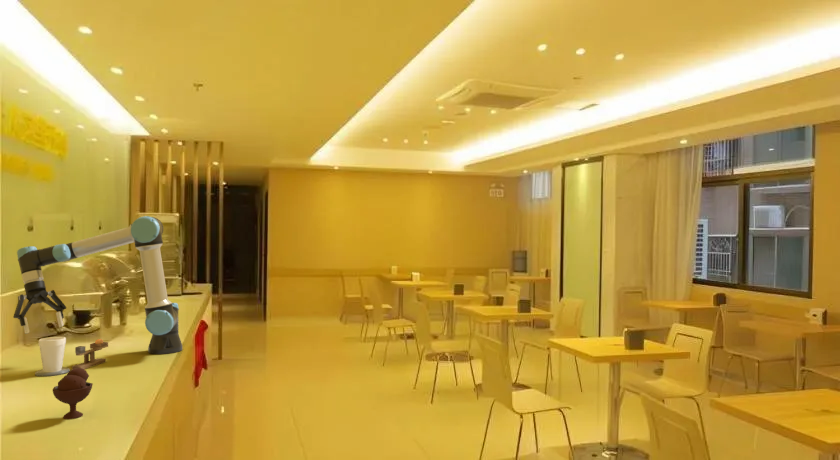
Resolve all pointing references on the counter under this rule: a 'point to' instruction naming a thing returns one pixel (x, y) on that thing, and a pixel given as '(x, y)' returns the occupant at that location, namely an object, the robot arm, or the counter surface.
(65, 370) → the coaster
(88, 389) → the ice cream bowl
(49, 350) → the foam cup
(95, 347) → the catapult
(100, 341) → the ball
